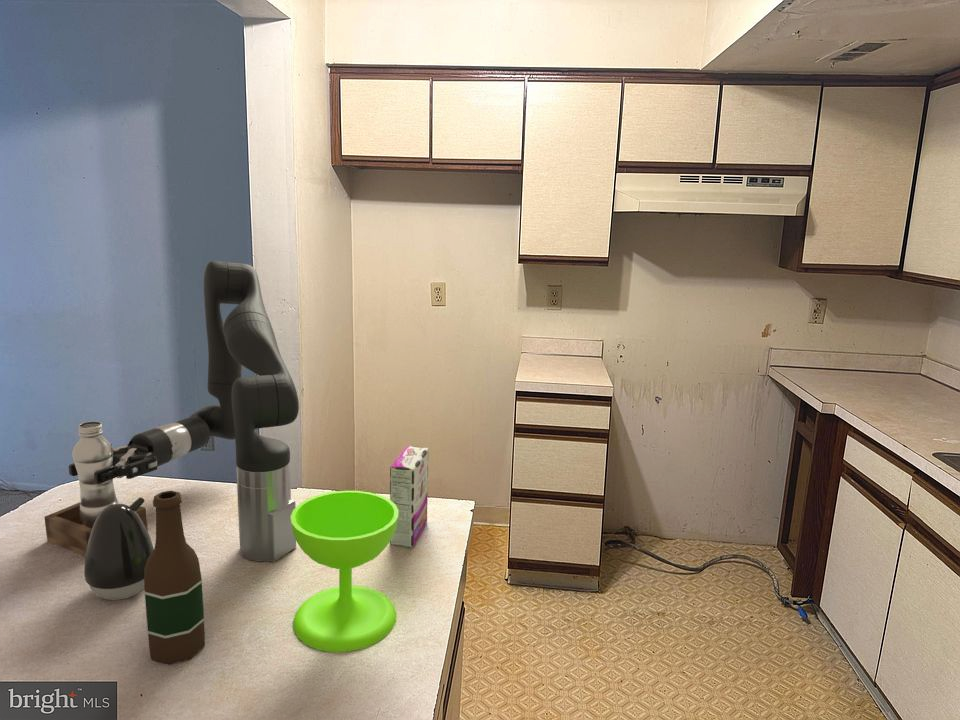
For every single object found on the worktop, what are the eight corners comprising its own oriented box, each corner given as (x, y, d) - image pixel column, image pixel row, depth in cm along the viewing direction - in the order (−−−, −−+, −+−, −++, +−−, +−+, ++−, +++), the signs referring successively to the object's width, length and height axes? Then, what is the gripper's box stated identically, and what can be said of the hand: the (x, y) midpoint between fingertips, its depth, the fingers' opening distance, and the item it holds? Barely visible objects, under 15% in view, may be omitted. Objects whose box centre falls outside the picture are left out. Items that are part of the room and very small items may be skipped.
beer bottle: (160, 630, 97) (149, 482, 91) (214, 630, 98) (206, 482, 92) (138, 667, 89) (124, 507, 84) (196, 666, 90) (186, 508, 84)
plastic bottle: (103, 535, 118) (92, 432, 113) (72, 530, 120) (59, 428, 115) (129, 519, 125) (119, 420, 120) (98, 514, 126) (87, 416, 121)
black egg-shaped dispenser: (172, 580, 109) (166, 497, 106) (121, 615, 100) (112, 526, 96) (126, 567, 113) (118, 486, 109) (71, 600, 103) (61, 512, 99)
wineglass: (309, 585, 110) (308, 487, 106) (403, 591, 110) (405, 493, 105) (278, 648, 94) (274, 536, 90) (387, 655, 94) (389, 543, 90)
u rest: (147, 531, 125) (145, 507, 123) (92, 558, 115) (90, 533, 113) (103, 516, 129) (101, 493, 128) (47, 541, 119) (44, 516, 118)
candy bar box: (404, 518, 135) (406, 444, 131) (427, 521, 134) (430, 447, 130) (387, 545, 124) (389, 465, 120) (413, 549, 123) (415, 468, 119)
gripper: (134, 421, 134) (54, 448, 119) (185, 434, 128) (107, 463, 114) (137, 455, 136) (59, 485, 121) (188, 469, 130) (111, 502, 115)
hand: (83, 474), depth 117 cm, fingers closed on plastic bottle, 6 cm apart
